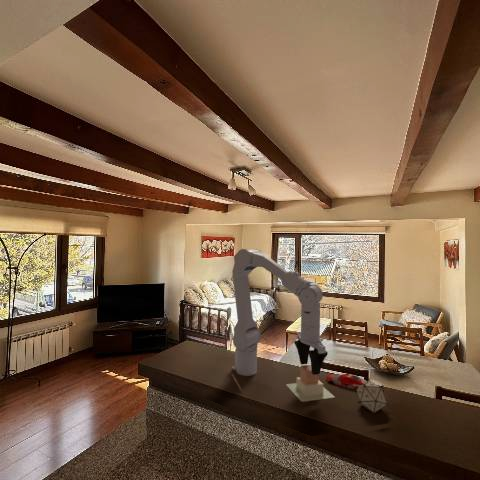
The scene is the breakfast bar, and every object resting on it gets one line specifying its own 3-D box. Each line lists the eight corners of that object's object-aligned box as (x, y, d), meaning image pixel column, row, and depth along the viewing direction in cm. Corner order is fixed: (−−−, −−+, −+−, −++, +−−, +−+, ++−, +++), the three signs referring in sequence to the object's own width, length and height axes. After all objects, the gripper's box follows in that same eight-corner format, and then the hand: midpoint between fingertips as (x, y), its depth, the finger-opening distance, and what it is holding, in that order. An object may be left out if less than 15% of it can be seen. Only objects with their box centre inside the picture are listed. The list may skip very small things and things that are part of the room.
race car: (323, 385, 99) (323, 372, 99) (328, 379, 103) (328, 367, 103) (366, 396, 92) (366, 383, 92) (369, 389, 96) (369, 377, 96)
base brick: (296, 387, 95) (296, 377, 95) (313, 385, 96) (313, 375, 96) (305, 396, 89) (305, 386, 89) (323, 394, 91) (323, 384, 91)
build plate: (285, 386, 97) (285, 384, 97) (316, 383, 99) (316, 380, 99) (301, 404, 86) (301, 401, 86) (335, 399, 89) (335, 397, 89)
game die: (368, 427, 82) (351, 402, 80) (360, 401, 90) (345, 377, 88) (400, 417, 79) (383, 390, 77) (389, 391, 87) (374, 366, 85)
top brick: (300, 378, 94) (300, 365, 94) (311, 377, 95) (311, 364, 95) (306, 384, 90) (306, 371, 90) (318, 383, 91) (318, 369, 91)
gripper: (335, 330, 87) (334, 377, 87) (310, 318, 101) (309, 358, 101) (313, 332, 85) (312, 380, 85) (291, 319, 99) (290, 360, 99)
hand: (309, 368), depth 93 cm, fingers open, 7 cm apart
